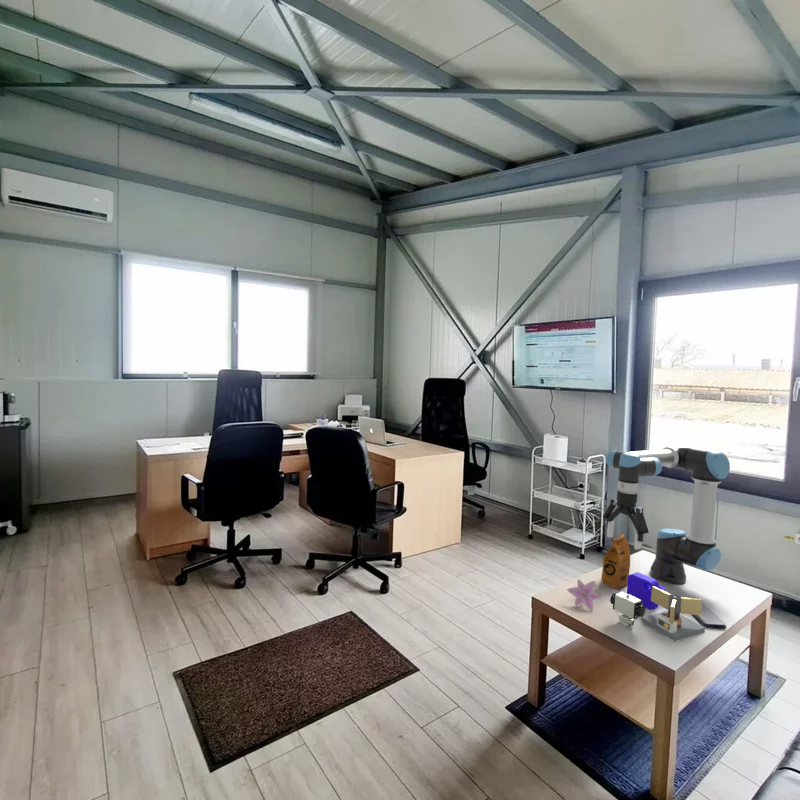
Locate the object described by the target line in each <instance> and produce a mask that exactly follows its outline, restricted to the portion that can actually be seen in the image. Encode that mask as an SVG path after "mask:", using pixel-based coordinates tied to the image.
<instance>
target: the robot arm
mask: <svg viewBox="0 0 800 800" xmlns="http://www.w3.org/2000/svg"><path fill="white" fill-rule="evenodd" d="M605 462H606V465H607V466H608V467H611V468H613V469H617V470H618V479H617V492H616V498H611V499H610V502H609V505H608V507H607V508H606V511H605V512H604V514H603V516H602V518H603V519H605V520H606V528H607V529H606V530H607V531H606V537H607V538H613V537H614V527H615V519H616V518H617V517H618V516H619V515H620V514H623V515H625V516H627V517H628V518H629V519H630V520H631V523H632V525H633V526H634V528H635V530H636V532H635V536H634V546H633V547H634V548H633V549H634V550H641V548H642V542H643V541H644V534H649V533H650V532H649V529H648V526H647V521H646V519H645V516H644V509H643V507H637V502H638V493H639V482H640V477H641V478H642V477H653V476H657V475H660V473H661V472H662V469H663V467H665V468H669V469H677V470H683V471H685V472H690V473H691V475H690V478H691V479H692V480H693V482H694V485H693V486H694V487H693V493H692V494H693V496H692V506H691V516H690V517H691V519H690V528H689V533H687V532H686V531H685V530H682V529H676V528H660V529H659V530H658V531H657V536H656V546H655V547H656V548H655V558H654V560H653V563H652V564H651V566H650V569H649V570H650V571H649V574H650V575H651V576H652V578H654V579H655V580H659V581H662V582H663V583H664V582H665V583H669V584H674V585H675V584H676V585H677V584H678V585H679V584H681V585H683V584H685V583H686V581H687V574H686V571H685V566H684V564H687V565H689V566H691V567H693V568H696V569H698V570H701V571H704V572H710V571H713V570H714V569H715V568H717V566H718V564H719V563H720V561H721V557H722V552H721V549H720V548H718V547H717V546H716V544H717V540H716V539H715V538H713V534H714V533H713V532H714V524H715V523H714V522H715V512H716V503H717V502H716V501H717V492H718V485H720V484H721V483H722V481H723V479H726V478H727V477H728V476H729V473H730V468H731V465H730V460H729V458H728V457H727V455H726V454H725V453H724V452H722V451H719V450H715V449H709V448H702V447H697V446H692V445H680V446H676V445H675V446H666V447H663V448H662V449H653V450H652V449H651V450H649V449H648V450H634V451H619V450H609V451H608V452H607V454H606V456H605Z"/></svg>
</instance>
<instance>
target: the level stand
mask: <svg viewBox="0 0 800 800" xmlns="http://www.w3.org/2000/svg"><path fill="white" fill-rule="evenodd" d="M662 613H668V610H667V609H666V610H663V611H659V612H656V613H652V614H648V615H644V616H643V617H641V623H642V624H644V625H646V626H648V627H649V628H651V629H652V630H654V631H656V632H657V633H659V634H661V635H663V636H665V637H666V638H667V639H670V640H672V641H673V642H678V641H682V640H685V639H688V638H692V637H694V636H699V635H701V634H704V633H705V632H706V626H703V625H701V624H699V623H698V622H696V621H694V620H692V619H690V618H688V617H686V616H684V615H683V614H680V618H681V619H682V625H681V626H680V627H677V622H675V621H673V623H671V622H669V620H670V618H668V617H666V616H664V615H661V614H662Z"/></svg>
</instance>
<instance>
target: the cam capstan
mask: <svg viewBox="0 0 800 800" xmlns="http://www.w3.org/2000/svg"><path fill="white" fill-rule="evenodd" d="M651 601H652V602H654V603H656V604H658V605H659V607H662V608H664V609H665V610H666V611H667V610H668V613H662V614H661V615H664V616H666V617H668V618H670V620H669V622H671V623H673V621H675V622H677V627H680V626H681V625H682V619H681V618H680V614H681V615H691V616H692V615H693V616H702V608H703V607H702V605H703V600H702V599H701V598H696V597H695V598H694V597H684V596H683V597H682V596H680V595H678V594H673V593H669V592H667V591H666V590H665V591H663V590H661V589H659V588H657V587H655V586H652V594H651Z"/></svg>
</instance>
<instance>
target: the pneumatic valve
mask: <svg viewBox="0 0 800 800" xmlns="http://www.w3.org/2000/svg"><path fill="white" fill-rule="evenodd" d="M609 599H610V600H609V602H610V604H611V605H612V610H615V611H616V612H618V613H620V614H618V616H617V619H618V620H619V621H618V623H619V624H620V625H622V626H625V627H627V628H630V626H631V627H632V626H634V624H635V620H637V619H639V618H642V617H644V616H645V614H646V608H645V606H643V603H642V600H640V599H638V598H635V597H634V596H631V595H628V594H627V592H624V591H621V590H619V591H617V592H613V593H612V594H611V595H610V598H609Z"/></svg>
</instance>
